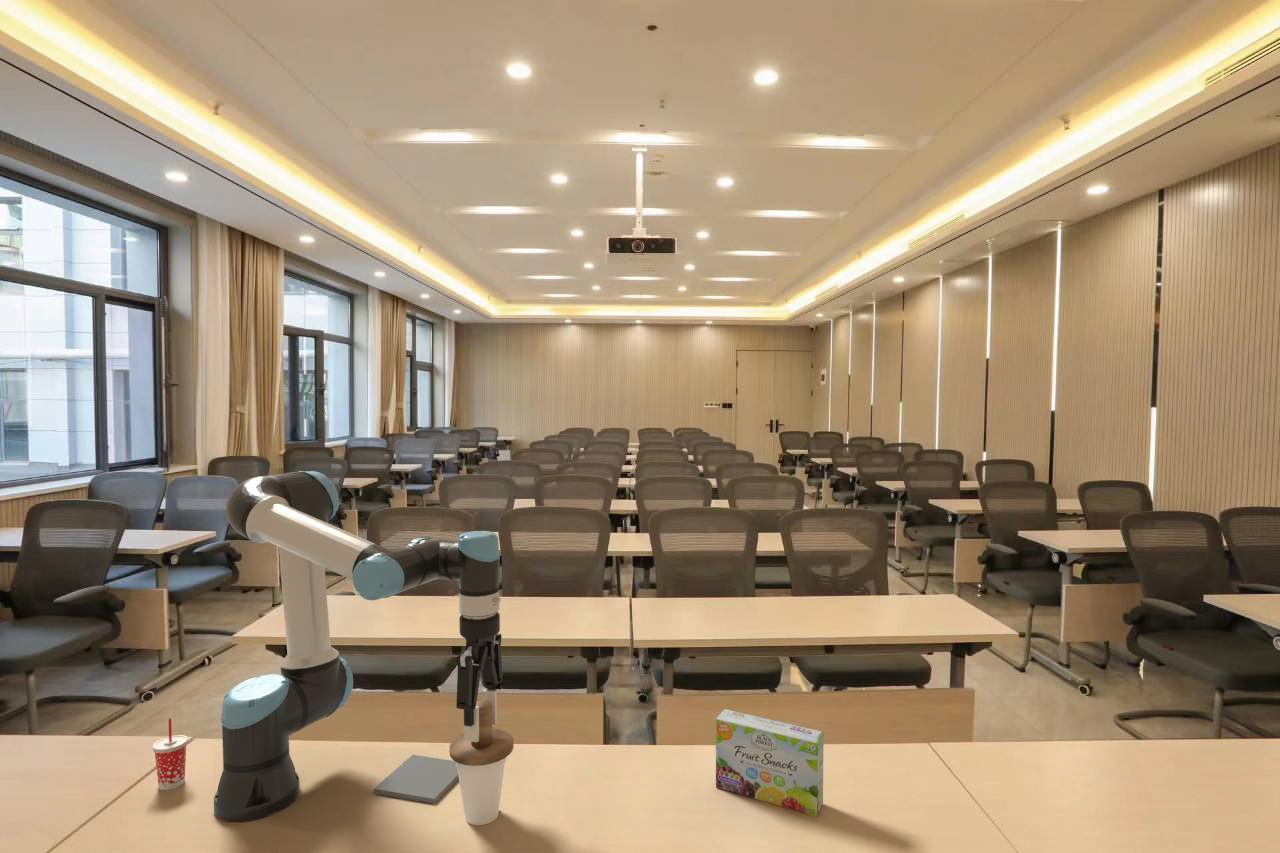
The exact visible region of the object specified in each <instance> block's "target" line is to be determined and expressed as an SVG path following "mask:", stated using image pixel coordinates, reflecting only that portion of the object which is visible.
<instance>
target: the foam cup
mask: <svg viewBox="0 0 1280 853" xmlns="http://www.w3.org/2000/svg"><path fill="white" fill-rule="evenodd" d="M506 761H507V757H506V758H504V759H502V760H500V761H498V762H495V763H492V764H487V765H480V766H469V765H463V764H459V763H457V762H456V767H457V768H458V775H459V779H458V781H459V787H460V788H459V789H460V795H461V802H462V807H463V809H462V810H463V814H464V815H463V816H464V819H465V821H466V823H468V824H470V825H472V826H485V825H488V824H490V823H492V822H494V821H495V820H496V819H497V818H498V817H499V813H500V812H499V810H500V803H501V794H502V786H503V779H504V778H503V777H504V771H505V770H504V769H505V764H506Z"/></svg>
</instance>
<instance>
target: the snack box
mask: <svg viewBox="0 0 1280 853" xmlns="http://www.w3.org/2000/svg"><path fill="white" fill-rule="evenodd" d="M824 739H825V738H824V731H822V730H819V729H818V730H817V729H813V728H808V727H805V726H804V727H803V726H799V725H795V724H791V723H787V722H781V721H778V720H773V719H770V718H764V717H761V716H758V715H757V716H756V715H752V714H747V713H744V712H739V711H734V710H730V709H727V708H726V709H725V708H724V709H723V710H722V711H721V712H720V714H718V716H717V717H716V718H715V787H716V788H717V789H720V790H724V791H728V792H730V793H735V794H737V795H741V796H745V797H749V798H751V799H755V800H758V801H762V802H765V803H768V804H770V805H776V806H778V807H783V808H786V809H788V810H793V811H795V812H798V813H802V814H805V815H810V816H812V817H818V816H819V813H820V810H821V808H822V806H823V804H824Z"/></svg>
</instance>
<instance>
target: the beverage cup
mask: <svg viewBox="0 0 1280 853" xmlns="http://www.w3.org/2000/svg"><path fill="white" fill-rule="evenodd" d="M172 732H173V731H172V718H171V717H168V736H167V737H164V738H161V739H159V740H157V741H155V742H154V743H153V745H152V750H153V752H154V758H155V766H156V768H155V769H156V775H157V785H158V786H157V787H158V789H159V790H160V791H170V790H174V789H177V788H178V787H180V786H182V785H183V784H184V783H185V780H186V761H187V760H186V759H187V744H189V743H188V741H189V739H188V736H187V735H182V734H178V735H173V734H172Z"/></svg>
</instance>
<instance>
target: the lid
mask: <svg viewBox="0 0 1280 853" xmlns="http://www.w3.org/2000/svg"><path fill="white" fill-rule="evenodd" d="M476 706H479V741H478V742H471V741H464V732H463V733H462V734H460V735H458V736H457V737H455V738H454V739H453V740H452V741H451V742H450V744H449V756H450V758H451V760H452V761H455V762H457V763H459V764H463V765H469V766H480V765H487V764H492V763H495V762H498V761H500V760H502V759H504V758H506V759H507V757H509V756H510V754H511V753H512V752H513V750H514V744H515V743H514V737H513V736H512V734H510V733H509V732H507V731H505V730H503V729H499V728H493V724H492V703H491V702H490V701H483V700H477V703H476Z"/></svg>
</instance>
